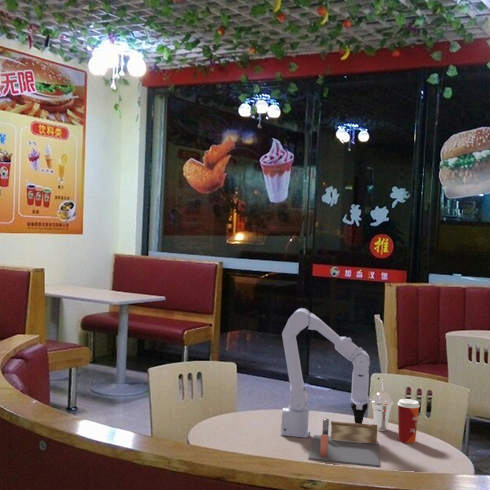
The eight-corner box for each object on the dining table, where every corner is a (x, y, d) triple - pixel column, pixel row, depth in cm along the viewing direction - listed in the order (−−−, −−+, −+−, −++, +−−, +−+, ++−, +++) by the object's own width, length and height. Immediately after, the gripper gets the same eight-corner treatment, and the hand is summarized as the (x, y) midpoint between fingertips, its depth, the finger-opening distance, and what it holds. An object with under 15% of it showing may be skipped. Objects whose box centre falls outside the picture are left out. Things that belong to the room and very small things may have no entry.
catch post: (319, 458, 213) (320, 436, 213) (320, 455, 215) (321, 434, 215) (327, 458, 212) (328, 437, 212) (327, 456, 215) (328, 434, 214)
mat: (308, 459, 211) (308, 457, 211) (314, 436, 235) (314, 434, 235) (379, 466, 207) (379, 465, 207) (378, 442, 231) (378, 441, 231)
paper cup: (418, 445, 229) (420, 405, 229) (395, 443, 231) (397, 403, 231) (417, 438, 237) (419, 399, 237) (395, 436, 239) (397, 397, 238)
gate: (330, 439, 229) (331, 421, 229) (330, 437, 231) (331, 420, 230) (376, 443, 226) (377, 426, 226) (376, 442, 228) (377, 424, 228)
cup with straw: (397, 430, 245) (399, 376, 245) (379, 434, 240) (382, 379, 240) (380, 424, 252) (382, 371, 252) (362, 427, 247) (365, 374, 247)
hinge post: (321, 441, 229) (322, 419, 229) (322, 439, 231) (323, 418, 231) (327, 442, 229) (328, 420, 229) (328, 440, 231) (329, 418, 231)
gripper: (372, 392, 225) (370, 432, 225) (371, 382, 239) (370, 420, 239) (350, 390, 226) (349, 430, 226) (351, 380, 240) (350, 418, 241)
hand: (358, 424), depth 233 cm, fingers closed
